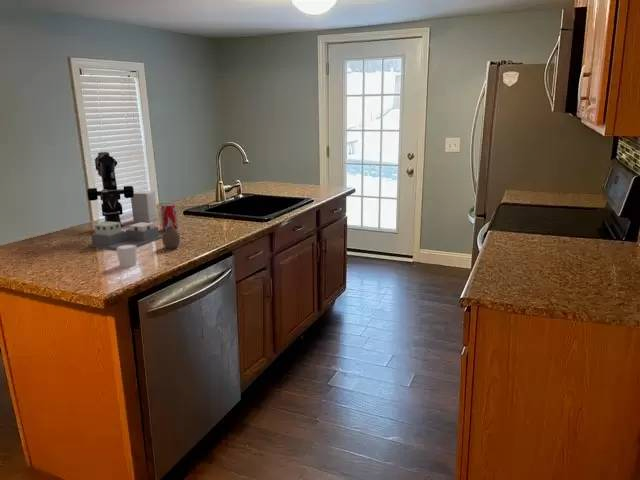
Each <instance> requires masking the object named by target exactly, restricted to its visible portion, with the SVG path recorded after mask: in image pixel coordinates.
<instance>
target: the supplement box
mask: <svg viewBox="0 0 640 480" xmlns="http://www.w3.org/2000/svg"><path fill="white" fill-rule="evenodd" d="M156 201H157V200H156V192H155V190H137V191H134V197H133V198H130V203H131V211H132V219H133V223H140V222H145V223H153V222H154V221H157V220H158V210H157V202H156Z"/></svg>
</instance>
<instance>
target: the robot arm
mask: <svg viewBox="0 0 640 480" xmlns="http://www.w3.org/2000/svg"><path fill="white" fill-rule="evenodd" d="M94 165H95V171H97V175H98V176H99V177H100V178H101V183H102V189H101V190H99V191H98V188H97V187H92V188H87V189H86V192H87V200H88V201H89V202H90V201H91V202H92V201H97V200H99V197H100V201H102V202H101V203H100V205H101V206H100V207H101V214H102V217H104V222H107V221H110V222H120V225H121V228H122V227H124V225H123V224H122V223H121V222H122V221H121V218H120V216H121V215H123V205H122V204H121V202H120V201H119V200H121V195H123V198H126V199H131V198H133V197H134V192H135V189H134V186H132V185H124V186H123V189H118V185H117V179H116V173H115V169H116V167H117V165H118V161H116V159H115V158H114V157H113V156H111V155H110V153H109V151H108V152H107V151H102V152H98V153H97V156H96V158H95V159H94Z"/></svg>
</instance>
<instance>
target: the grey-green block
mask: <svg viewBox="0 0 640 480" xmlns="http://www.w3.org/2000/svg"><path fill="white" fill-rule="evenodd" d="M121 225H122V224H121ZM121 225H120V222H110V221H107V222H105V221H103V222H100V223H96V224H94V231H95V233H96V235H105V236H110V235H113V234H116V233H120V232H121V231H122V227H121Z"/></svg>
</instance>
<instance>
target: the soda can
mask: <svg viewBox="0 0 640 480" xmlns="http://www.w3.org/2000/svg"><path fill="white" fill-rule="evenodd" d="M177 211H178V210H177V207H176V205H175V203H171V202H170V203H169V202H168V203H167V202H166V203H163V204H161V207H160V213H161V224H162V229H163V230H164V231H166V229H167V227H168V226H173V227H174V229H175V230H176V231H177V229H178V227H179V220H178V212H177Z"/></svg>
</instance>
